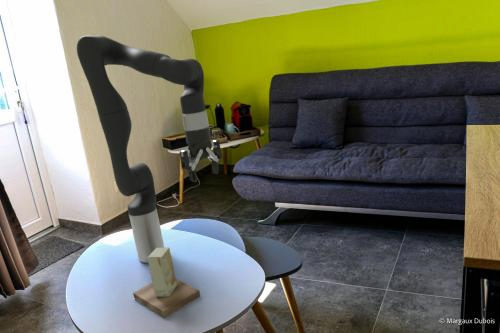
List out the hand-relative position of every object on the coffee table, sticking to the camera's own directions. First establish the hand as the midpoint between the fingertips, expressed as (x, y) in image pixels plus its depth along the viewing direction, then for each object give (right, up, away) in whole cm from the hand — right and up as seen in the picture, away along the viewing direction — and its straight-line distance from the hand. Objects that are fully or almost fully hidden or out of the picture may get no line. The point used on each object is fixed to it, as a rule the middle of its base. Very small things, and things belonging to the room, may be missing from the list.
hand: (205, 177), depth 135 cm
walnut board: (-10, -34, -12) cm, 37 cm away
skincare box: (-10, -32, -12) cm, 36 cm away
